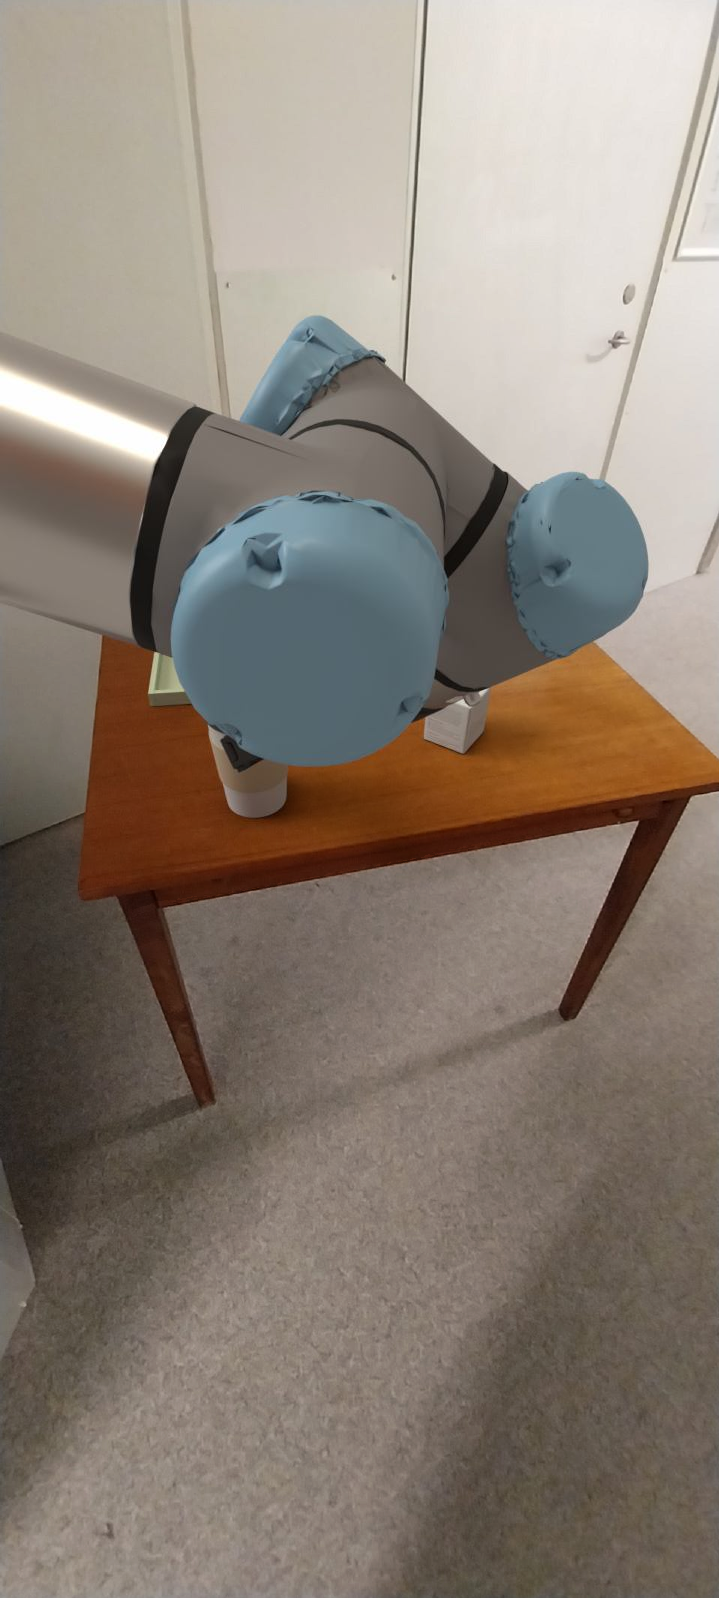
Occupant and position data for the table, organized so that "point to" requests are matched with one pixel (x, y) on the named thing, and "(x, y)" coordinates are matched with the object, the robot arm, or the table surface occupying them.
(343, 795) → the table surface
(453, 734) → the product box
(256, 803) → the coffee cup
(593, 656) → the table surface
